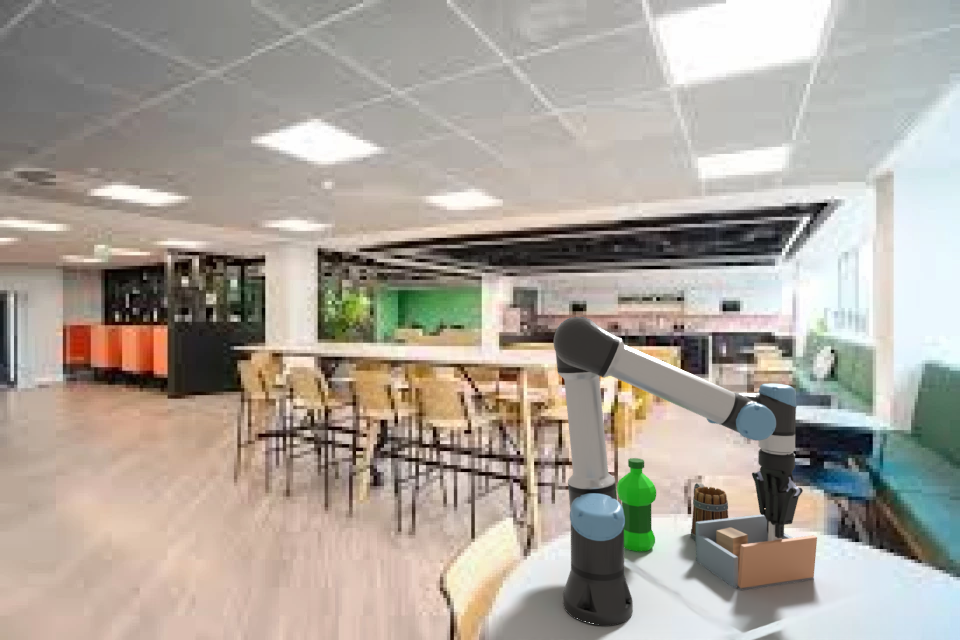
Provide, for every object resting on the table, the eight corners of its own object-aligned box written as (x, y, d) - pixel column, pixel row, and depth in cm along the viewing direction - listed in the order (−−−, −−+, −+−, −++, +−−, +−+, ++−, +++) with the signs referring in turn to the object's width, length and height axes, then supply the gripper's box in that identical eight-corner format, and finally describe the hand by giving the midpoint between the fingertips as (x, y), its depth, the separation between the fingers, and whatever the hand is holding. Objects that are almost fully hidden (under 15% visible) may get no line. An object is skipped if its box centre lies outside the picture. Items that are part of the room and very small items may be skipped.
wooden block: (733, 575, 129) (733, 538, 129) (716, 566, 134) (716, 530, 133) (747, 570, 131) (747, 534, 131) (730, 562, 136) (730, 527, 135)
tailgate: (740, 592, 122) (744, 547, 121) (737, 589, 123) (740, 544, 122) (813, 581, 127) (817, 537, 126) (809, 578, 128) (813, 535, 127)
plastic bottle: (651, 543, 151) (651, 455, 150) (659, 560, 140) (658, 466, 140) (615, 541, 152) (615, 454, 152) (620, 558, 142) (619, 465, 141)
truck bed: (733, 594, 123) (733, 544, 123) (695, 566, 137) (695, 521, 137) (811, 582, 128) (811, 534, 128) (767, 556, 142) (767, 513, 142)
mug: (738, 552, 145) (737, 497, 144) (699, 552, 145) (698, 497, 145) (713, 529, 160) (713, 479, 160) (678, 529, 160) (678, 479, 160)
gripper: (812, 456, 119) (811, 560, 120) (768, 442, 131) (767, 535, 132) (785, 459, 117) (783, 564, 118) (743, 444, 130) (741, 539, 130)
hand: (775, 549), depth 125 cm, fingers closed
